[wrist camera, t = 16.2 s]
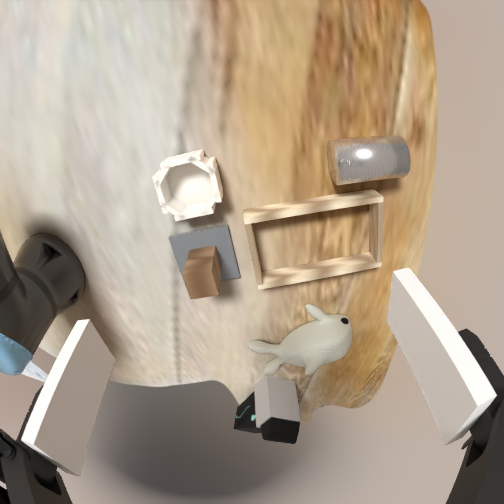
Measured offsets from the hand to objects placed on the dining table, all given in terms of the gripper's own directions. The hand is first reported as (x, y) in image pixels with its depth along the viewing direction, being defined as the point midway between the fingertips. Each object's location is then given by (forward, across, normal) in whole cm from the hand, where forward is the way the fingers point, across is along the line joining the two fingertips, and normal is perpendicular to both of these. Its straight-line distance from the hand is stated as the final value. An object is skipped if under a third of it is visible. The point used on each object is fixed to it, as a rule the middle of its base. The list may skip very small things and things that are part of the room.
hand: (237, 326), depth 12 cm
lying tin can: (+31, +17, -2) cm, 35 cm away
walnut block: (+30, -8, -13) cm, 34 cm away
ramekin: (+31, -7, -1) cm, 32 cm away
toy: (+31, +5, -34) cm, 46 cm away
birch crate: (+31, +9, -12) cm, 34 cm away
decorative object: (+31, -6, -54) cm, 62 cm away
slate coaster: (+31, -8, -13) cm, 34 cm away
